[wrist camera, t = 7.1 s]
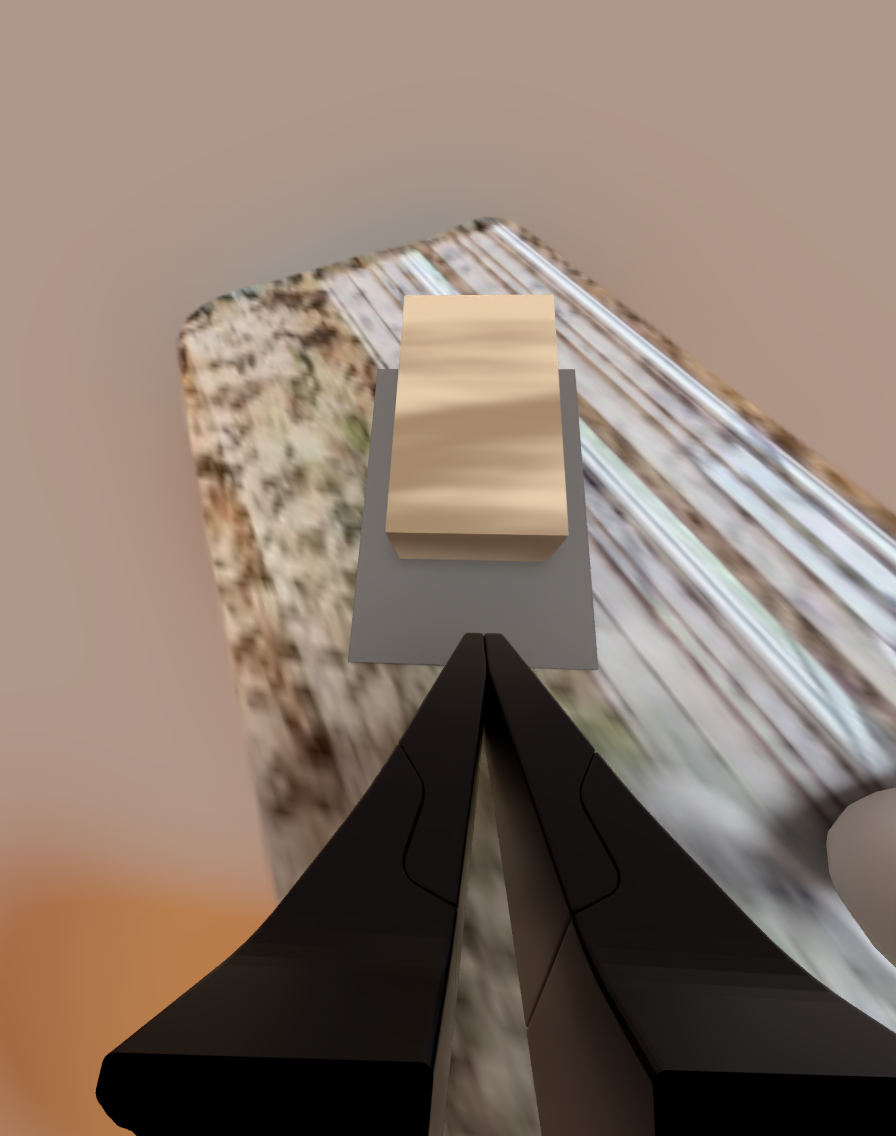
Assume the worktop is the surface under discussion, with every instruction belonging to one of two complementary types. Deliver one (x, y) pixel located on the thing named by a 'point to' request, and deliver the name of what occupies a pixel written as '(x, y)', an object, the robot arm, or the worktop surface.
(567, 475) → the rubber mat
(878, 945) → the donut
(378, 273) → the worktop surface
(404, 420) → the birch block
